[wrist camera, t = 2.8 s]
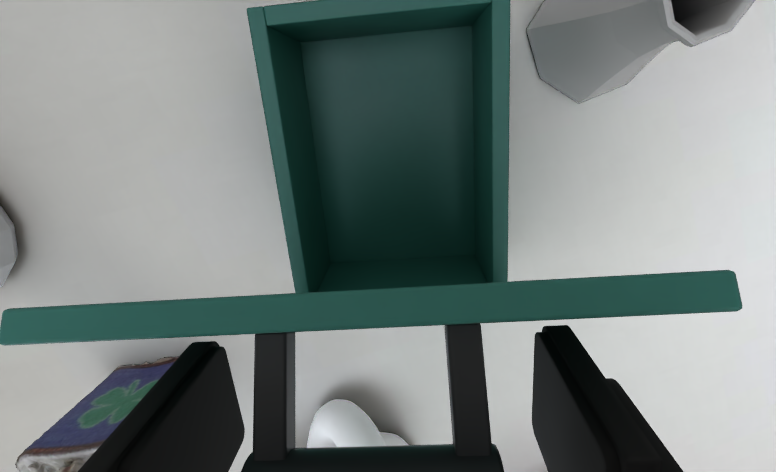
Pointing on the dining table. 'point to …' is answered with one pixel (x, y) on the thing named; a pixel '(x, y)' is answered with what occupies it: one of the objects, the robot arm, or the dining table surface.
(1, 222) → the jar
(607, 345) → the dining table surface
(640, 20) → the flask
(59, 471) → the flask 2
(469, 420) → the lunchbox lid
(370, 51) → the box
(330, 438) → the white decorative knot
